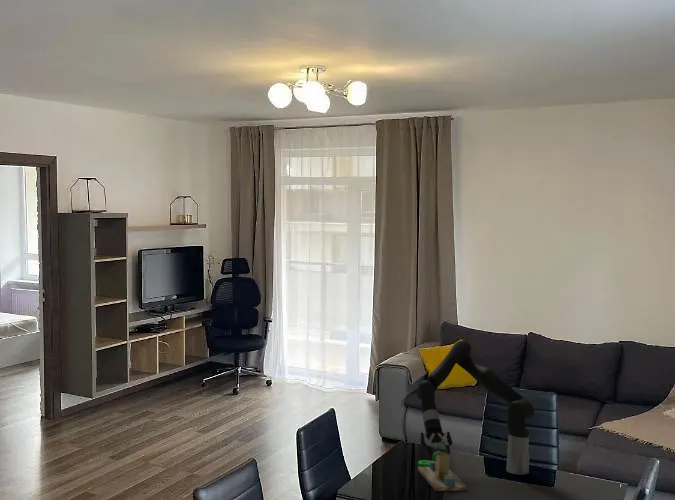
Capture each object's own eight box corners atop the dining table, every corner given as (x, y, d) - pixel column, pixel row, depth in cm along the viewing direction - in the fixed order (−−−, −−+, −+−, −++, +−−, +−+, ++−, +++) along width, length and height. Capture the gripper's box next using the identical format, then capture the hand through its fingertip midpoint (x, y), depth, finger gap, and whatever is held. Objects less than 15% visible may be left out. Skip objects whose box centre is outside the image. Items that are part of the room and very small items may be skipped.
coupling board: (446, 469, 311) (447, 460, 311) (466, 490, 287) (467, 479, 287) (417, 470, 309) (418, 460, 309) (435, 490, 284) (436, 480, 284)
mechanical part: (443, 466, 317) (444, 449, 317) (444, 470, 311) (445, 453, 311) (417, 463, 318) (418, 446, 318) (418, 468, 312) (419, 450, 312)
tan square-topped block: (444, 474, 300) (446, 452, 300) (448, 478, 296) (449, 455, 296) (435, 474, 300) (436, 452, 299) (438, 478, 295) (439, 455, 295)
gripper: (444, 425, 317) (451, 458, 306) (415, 426, 314) (421, 459, 303) (448, 417, 311) (456, 450, 301) (419, 418, 309) (426, 451, 298)
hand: (439, 454), depth 302 cm, fingers open, 8 cm apart
